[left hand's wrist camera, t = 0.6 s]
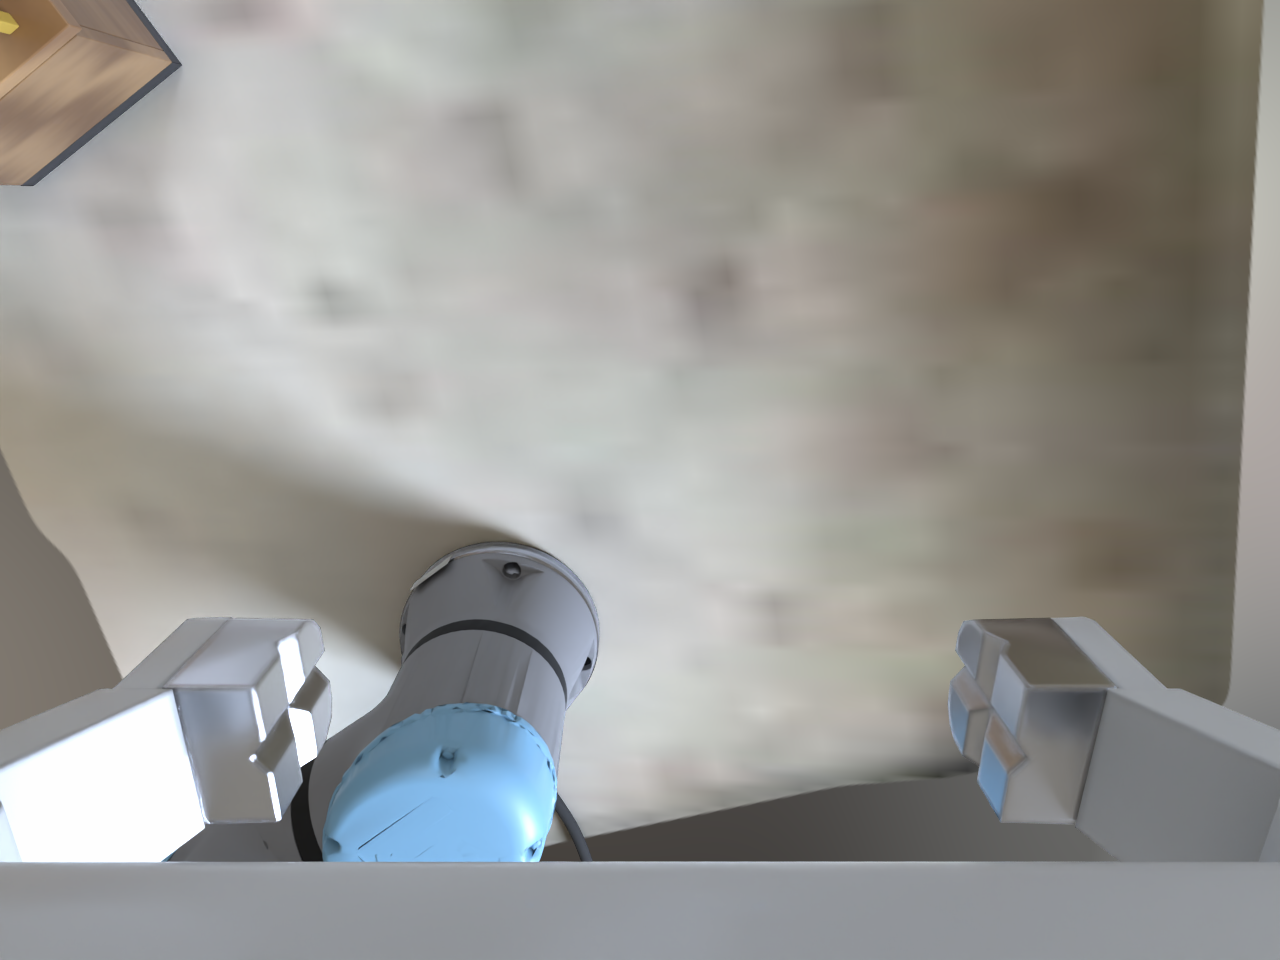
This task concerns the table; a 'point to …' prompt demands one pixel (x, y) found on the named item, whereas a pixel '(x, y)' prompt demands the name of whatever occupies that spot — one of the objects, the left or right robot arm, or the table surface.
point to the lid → (31, 36)
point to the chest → (80, 88)
